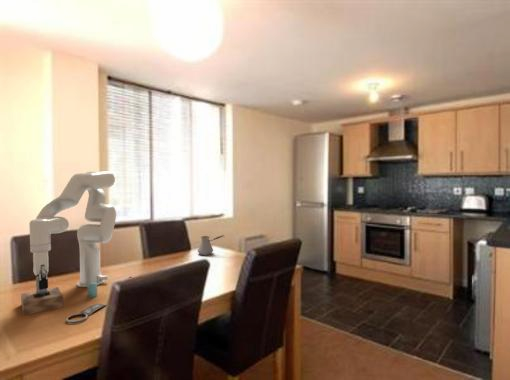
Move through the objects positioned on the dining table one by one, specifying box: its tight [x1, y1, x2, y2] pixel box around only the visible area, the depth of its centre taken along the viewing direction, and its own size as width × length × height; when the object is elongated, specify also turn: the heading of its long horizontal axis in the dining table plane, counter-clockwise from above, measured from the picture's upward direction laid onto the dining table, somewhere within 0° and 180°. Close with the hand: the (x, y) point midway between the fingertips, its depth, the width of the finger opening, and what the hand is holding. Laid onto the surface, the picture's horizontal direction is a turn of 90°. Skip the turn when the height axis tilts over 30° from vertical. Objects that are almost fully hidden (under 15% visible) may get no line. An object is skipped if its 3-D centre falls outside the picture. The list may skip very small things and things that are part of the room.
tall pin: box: [35, 276, 48, 298], centre depth 143 cm, size 4×4×13 cm
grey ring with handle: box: [65, 303, 107, 325], centre depth 135 cm, size 8×19×2 cm, turn 168°
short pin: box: [87, 282, 98, 298], centre depth 155 cm, size 4×4×6 cm
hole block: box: [20, 287, 64, 316], centre depth 143 cm, size 14×14×5 cm
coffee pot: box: [197, 234, 225, 256], centre depth 239 cm, size 21×12×15 cm, turn 71°
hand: (42, 285), depth 143 cm, fingers open, 9 cm apart
